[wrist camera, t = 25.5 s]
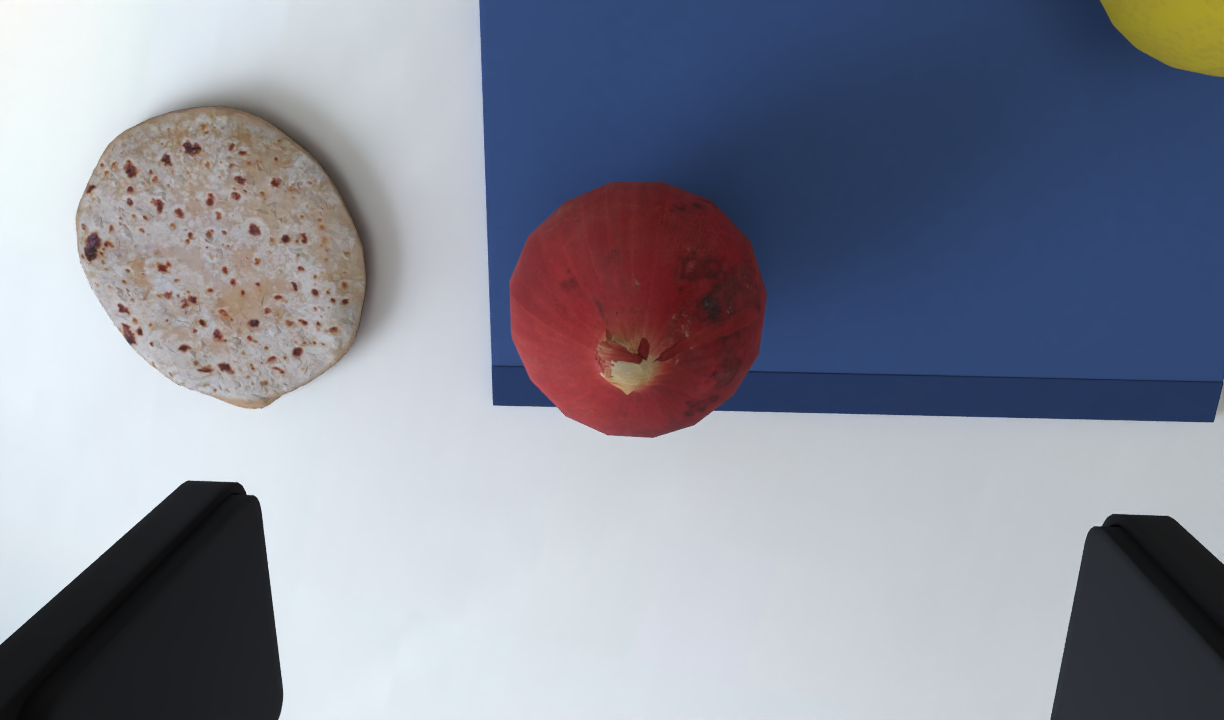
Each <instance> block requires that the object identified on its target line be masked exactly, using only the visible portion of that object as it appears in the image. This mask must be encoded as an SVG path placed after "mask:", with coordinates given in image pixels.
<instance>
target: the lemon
mask: <svg viewBox="0 0 1224 720" xmlns="http://www.w3.org/2000/svg"><path fill="white" fill-rule="evenodd" d="M1100 1H1101V3H1102V5H1103V7H1104V9H1105V11H1106V13H1107V15H1108V16H1109V18H1110V20H1111V22H1112V24H1113V25H1114V26H1115V27H1116V29H1117V30H1118V31H1119V32H1120V33H1121V34H1122V35H1123V36H1124V37H1125V38H1126V39H1127V40H1128V41H1129V42H1130V43H1131V44H1132V45H1133V46H1135V47H1136V48H1137V49H1138V50H1140V51H1142V52H1144V53H1146V54H1148V55H1149V56H1151V57H1153V58H1155V59H1157V60H1159V61H1160V62H1162V63H1164V64H1166V65H1168V66H1171V67H1174V68H1177V69H1181V70H1186V71H1191V72H1196V73H1201V74H1206V75H1210V76H1218V77H1224V0H1100Z"/></svg>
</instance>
